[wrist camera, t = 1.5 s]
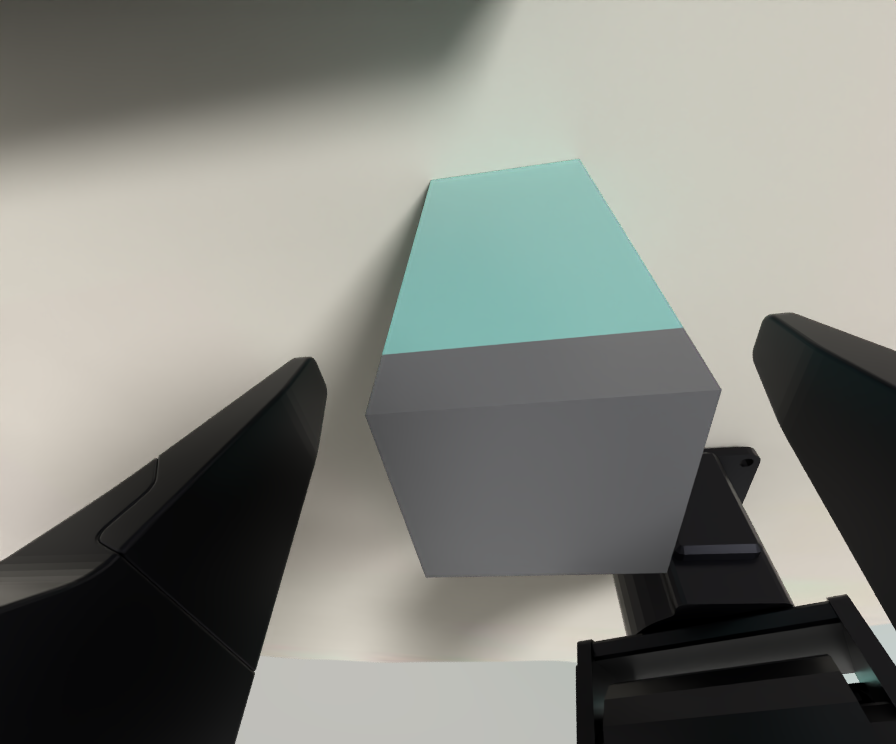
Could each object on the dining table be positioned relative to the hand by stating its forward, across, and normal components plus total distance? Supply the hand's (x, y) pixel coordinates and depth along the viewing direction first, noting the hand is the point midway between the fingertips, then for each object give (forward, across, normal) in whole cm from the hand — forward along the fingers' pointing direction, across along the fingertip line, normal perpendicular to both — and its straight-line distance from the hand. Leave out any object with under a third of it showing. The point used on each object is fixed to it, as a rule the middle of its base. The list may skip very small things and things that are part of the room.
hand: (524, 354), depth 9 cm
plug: (+6, 0, 0) cm, 6 cm away
